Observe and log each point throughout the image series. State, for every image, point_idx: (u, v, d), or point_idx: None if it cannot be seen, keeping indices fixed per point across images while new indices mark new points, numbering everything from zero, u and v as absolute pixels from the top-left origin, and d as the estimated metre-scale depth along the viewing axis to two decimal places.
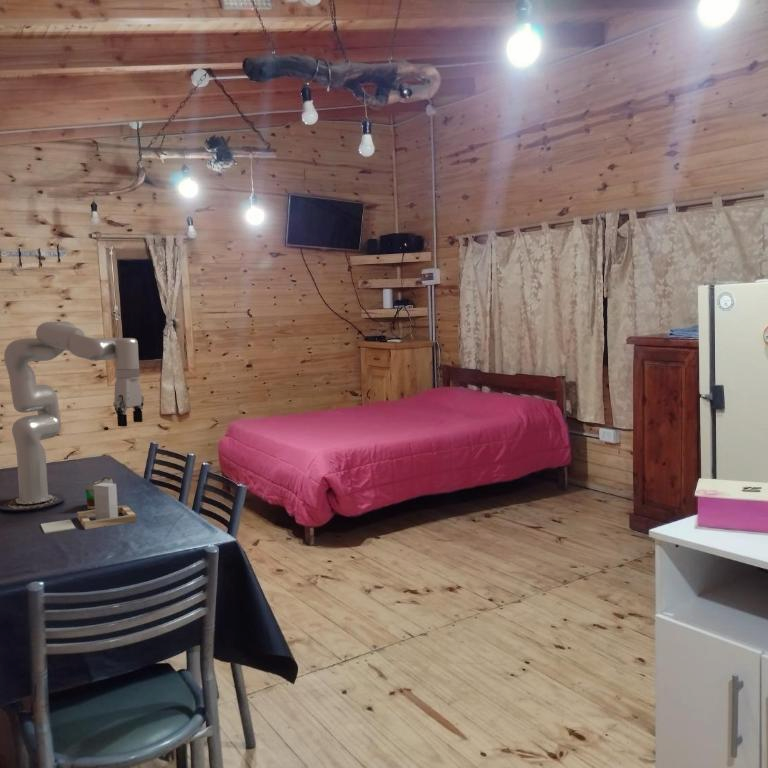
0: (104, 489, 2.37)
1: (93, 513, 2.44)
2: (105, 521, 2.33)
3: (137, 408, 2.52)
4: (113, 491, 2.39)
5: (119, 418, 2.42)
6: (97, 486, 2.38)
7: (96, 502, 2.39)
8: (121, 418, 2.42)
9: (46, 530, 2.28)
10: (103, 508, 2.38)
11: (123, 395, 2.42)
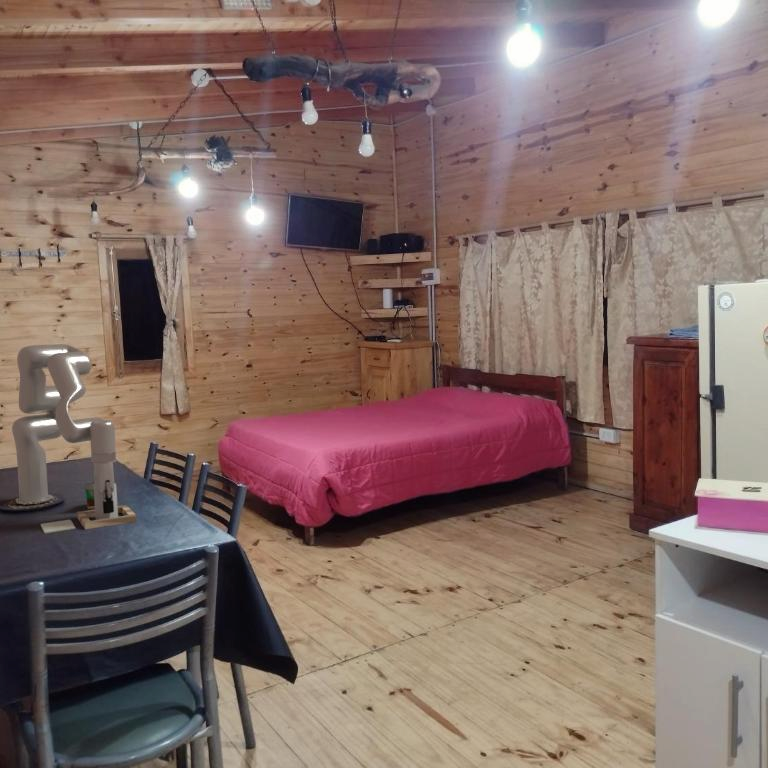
0: None
1: (93, 513, 2.44)
2: (105, 521, 2.33)
3: None
4: (113, 491, 2.39)
5: (107, 505, 2.36)
6: None
7: (95, 502, 2.39)
8: (109, 505, 2.36)
9: (46, 530, 2.28)
10: None
11: (110, 480, 2.35)
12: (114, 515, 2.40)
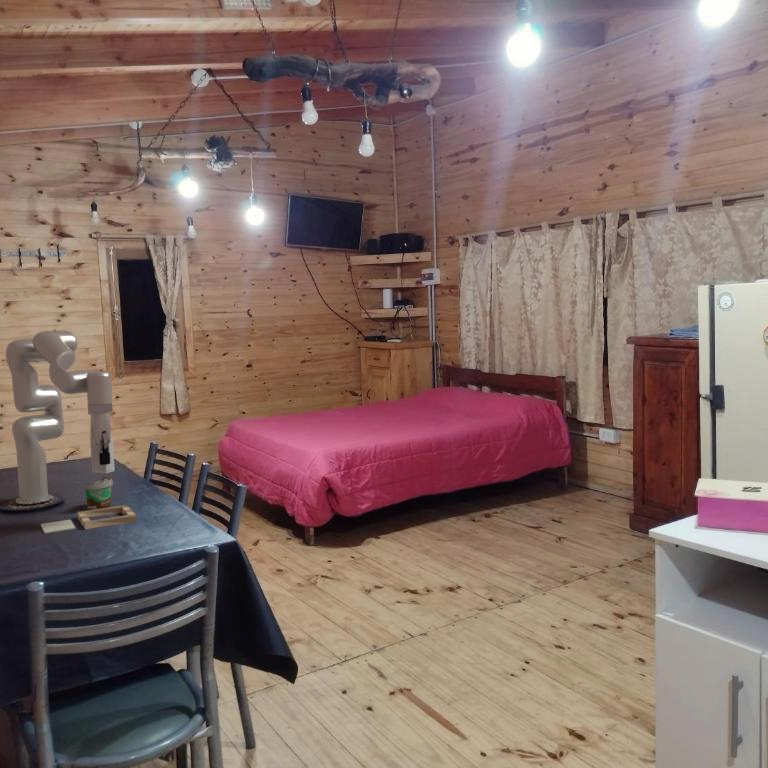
0: None
1: (93, 513, 2.44)
2: (105, 521, 2.33)
3: None
4: (109, 443, 2.37)
5: (103, 456, 2.34)
6: None
7: (92, 454, 2.37)
8: (106, 456, 2.34)
9: (46, 530, 2.28)
10: None
11: (107, 431, 2.34)
12: (110, 467, 2.38)
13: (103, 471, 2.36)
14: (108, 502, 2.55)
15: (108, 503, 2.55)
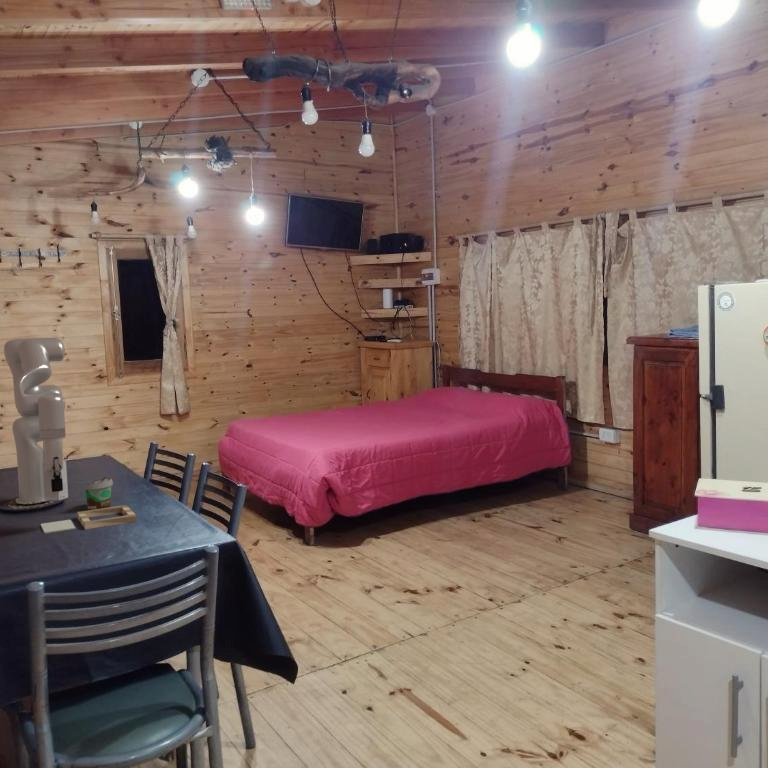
0: None
1: (93, 513, 2.44)
2: (105, 521, 2.33)
3: None
4: (62, 469, 2.30)
5: (55, 483, 2.27)
6: None
7: (44, 480, 2.30)
8: (58, 483, 2.27)
9: (46, 530, 2.28)
10: None
11: (59, 456, 2.27)
12: (64, 494, 2.31)
13: (56, 498, 2.29)
14: (108, 502, 2.55)
15: (108, 503, 2.55)
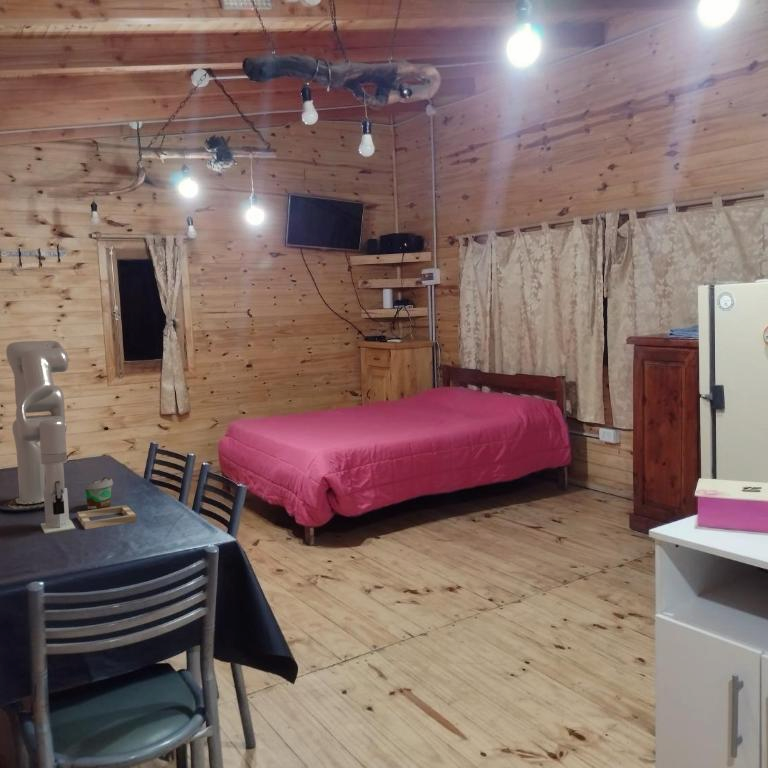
0: None
1: (93, 513, 2.44)
2: (105, 521, 2.33)
3: None
4: (64, 496, 2.32)
5: (57, 506, 2.27)
6: None
7: (45, 507, 2.31)
8: (60, 505, 2.27)
9: (46, 530, 2.28)
10: None
11: (60, 481, 2.28)
12: (65, 521, 2.32)
13: (57, 525, 2.30)
14: (108, 502, 2.55)
15: (108, 503, 2.55)
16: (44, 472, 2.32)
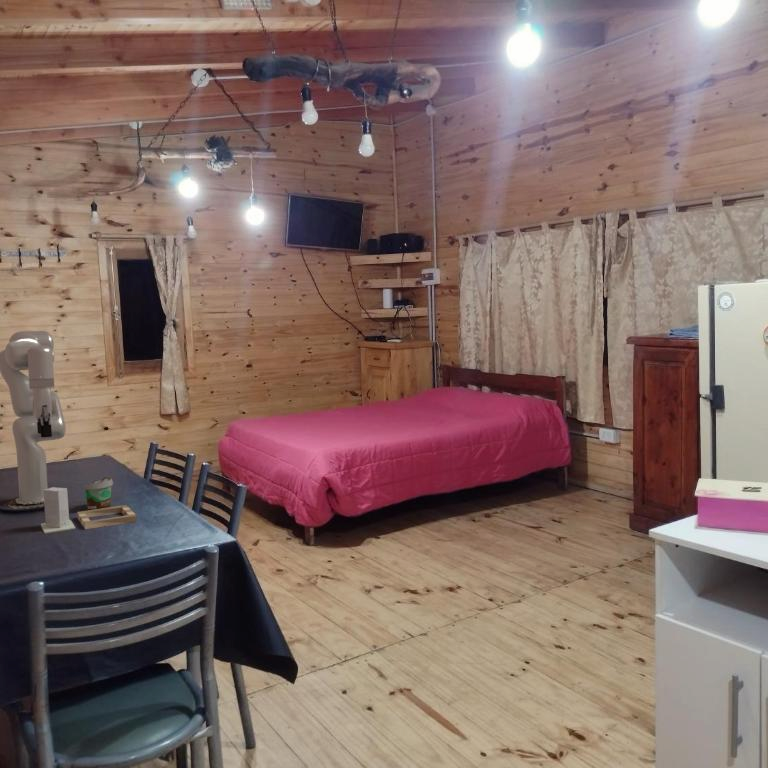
0: (54, 494, 2.30)
1: (93, 513, 2.44)
2: (105, 521, 2.33)
3: None
4: (64, 496, 2.32)
5: (44, 429, 2.35)
6: (47, 491, 2.31)
7: (45, 507, 2.31)
8: (47, 429, 2.36)
9: (46, 530, 2.28)
10: (53, 513, 2.30)
11: (48, 405, 2.36)
12: (65, 521, 2.32)
13: (57, 525, 2.30)
14: (108, 502, 2.55)
15: (108, 503, 2.55)
16: None
